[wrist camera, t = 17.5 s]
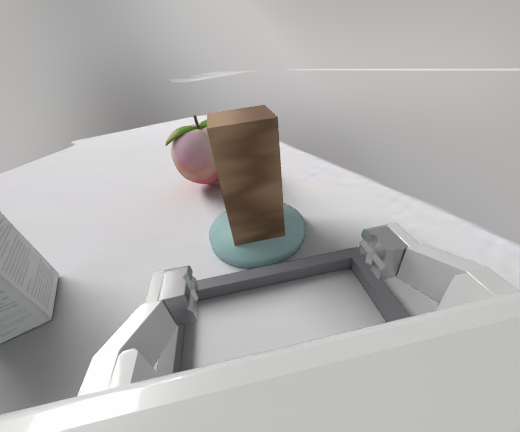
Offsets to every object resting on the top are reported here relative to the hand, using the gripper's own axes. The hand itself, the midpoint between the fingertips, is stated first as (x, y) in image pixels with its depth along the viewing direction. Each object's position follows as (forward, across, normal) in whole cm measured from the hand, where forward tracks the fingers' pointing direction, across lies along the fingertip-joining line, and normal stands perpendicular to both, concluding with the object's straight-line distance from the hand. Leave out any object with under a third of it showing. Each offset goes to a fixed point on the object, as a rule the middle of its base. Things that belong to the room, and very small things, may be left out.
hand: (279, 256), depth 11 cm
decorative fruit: (+26, +5, +8) cm, 28 cm away
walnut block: (+12, 0, +7) cm, 14 cm away
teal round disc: (+12, 0, +8) cm, 14 cm away
